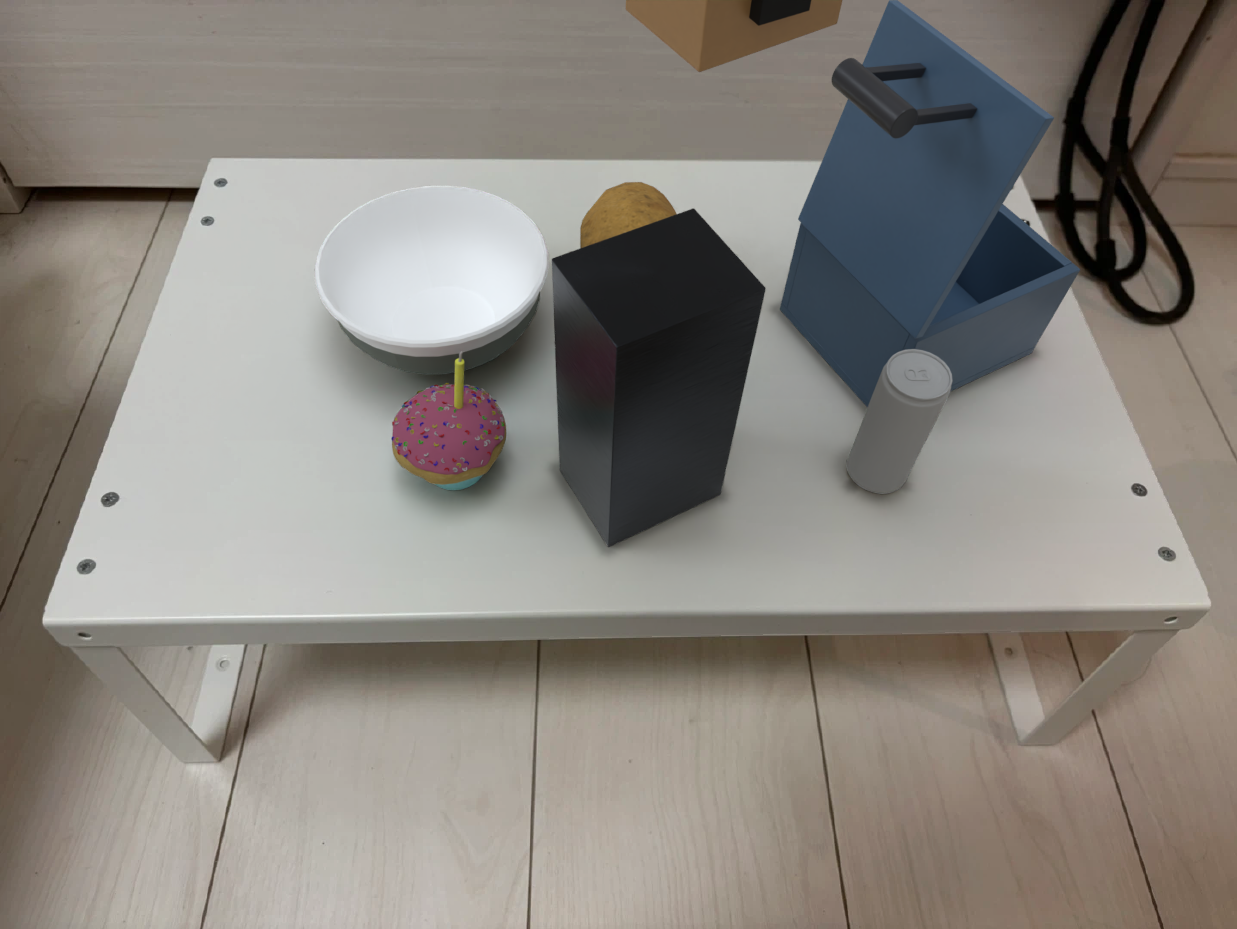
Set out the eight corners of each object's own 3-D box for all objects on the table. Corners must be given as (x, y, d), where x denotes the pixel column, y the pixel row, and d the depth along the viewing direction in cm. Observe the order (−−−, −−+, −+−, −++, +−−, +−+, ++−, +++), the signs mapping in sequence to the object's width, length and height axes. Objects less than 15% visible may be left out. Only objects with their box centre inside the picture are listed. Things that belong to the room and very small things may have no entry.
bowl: (355, 436, 74) (333, 368, 67) (320, 279, 84) (297, 206, 77) (578, 383, 78) (578, 313, 71) (519, 239, 88) (514, 166, 81)
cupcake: (467, 407, 76) (450, 302, 66) (533, 471, 73) (525, 370, 63) (379, 463, 73) (347, 361, 63) (444, 533, 69) (421, 437, 59)
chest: (922, 250, 89) (956, 164, 81) (1031, 353, 82) (1081, 269, 74) (779, 309, 84) (800, 223, 76) (882, 424, 77) (917, 342, 68)
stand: (721, 495, 72) (766, 287, 54) (608, 547, 69) (616, 347, 51) (668, 422, 76) (693, 207, 58) (559, 469, 73) (551, 258, 55)
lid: (897, -1, 63) (804, 3, 59) (1055, 117, 55) (960, 130, 51) (804, 218, 76) (723, 232, 72) (922, 336, 68) (839, 360, 64)
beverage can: (910, 498, 72) (961, 401, 63) (848, 497, 72) (890, 399, 62) (900, 448, 75) (947, 348, 65) (840, 447, 75) (879, 346, 65)
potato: (572, 259, 73) (691, 251, 73) (574, 160, 82) (680, 153, 81) (584, 345, 81) (691, 338, 80) (584, 247, 89) (682, 240, 89)
